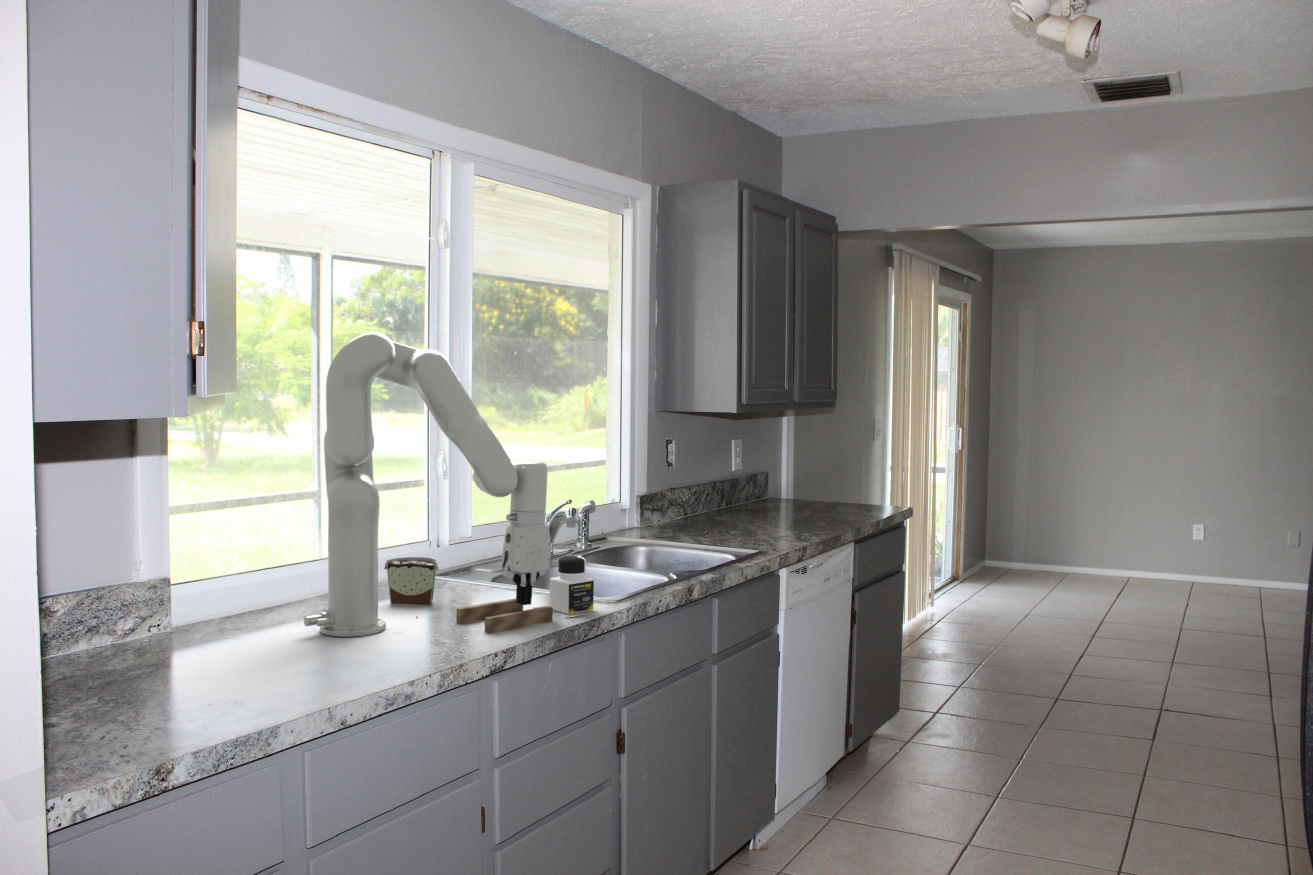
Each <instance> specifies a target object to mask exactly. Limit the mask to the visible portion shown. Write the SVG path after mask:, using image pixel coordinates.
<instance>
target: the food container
mask: <svg viewBox="0 0 1313 875" xmlns="http://www.w3.org/2000/svg"><path fill="white" fill-rule="evenodd" d="M384 564H385V565H384V567H383V568H384V570H386V571H387V582H388V591H389V592H388V594H389V602H390V605H391V606H409V607H411V606H413V607H432V606H433V602H434V601H433V600H434V590H435V580H436V574H437V573H436V572H439V570H440V569H439V563H438V562H437V560H436V559H435V558H431V557H424V556H423V557H421V556H420V557H419V556H408V557H407V556H405V557H397V558H390V559H387V560H386V563H384Z"/></svg>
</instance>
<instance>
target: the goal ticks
mask: <svg viewBox="0 0 1313 875" xmlns="http://www.w3.org/2000/svg"><path fill="white" fill-rule="evenodd" d="M546 606H550V604H545V605H541V606H535V607H533V609H535V608H540V607H546ZM586 614H589V615H590V613H589V612H583V613H578V614H576V615H577V616H578V617H581V616H580V615H584V616H587V615H586ZM565 619H571V618H570V617H569V616H565Z"/></svg>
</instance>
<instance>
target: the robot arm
mask: <svg viewBox="0 0 1313 875" xmlns="http://www.w3.org/2000/svg"><path fill="white" fill-rule="evenodd" d="M330 363H331V364H330V366H329V368H328V371H327V376H326V382H325V383H326V384H325V401H326V402H325V410H326V413H325V415H326V431H325V433H324V438H323V450H324V451H323V452H324V454H323V455H324V470H325V483H326V496H327V505H328V506H327V509H328V511H327V512H328V516H327V517H328V520H327V521H328V522H327V523H328V526H327V527H328V529H327V534H328V536H327V537H328V538H327V539H328V540H327V549H328V550H327V553H328V554H327V555H328V563H327V564H328V566H327V568H328V569H327V571H328V573H327V575H328V576H327V578H328V579H327V580H328V583H327V584H328V585H327V586H328V588H327V589H328V590H327V591H328V595H327V596H328V600H327V601H328V602H327V603H328V604H327V605H328V607H324V608H323V609H322V611H323V612H320V613H319V614H315V615H313V614H312V615H307V616H304V617H303V624H304V627H312V626H316V627H319V632H320V633H321V634H323V635H326V636H331V637H340V638H342V637H343V638H345V637H346V638H347V637H348V638H349V637H350V638H351V637H362V636H363V637H364V636H369V635H373V634H377V633H380V632H382V631H384V630H385V629H386V627H387V623H386V621H385V620H384V619H382V618H379V596H378V595H379V517H380V493H379V490H378V488H377V485H376V484H375V482H374V480H375V479H374V466H373V451H374V448H375V437H374V432H373V426H372V425H373V424H372V410H371V408H372V401H371V400H372V394H371V393H372V391H371V390H372V385H373V382H374V381H375V378H376V379H378V380H379V379H380V380H383V381H387V382H390V383H393V384H397V385H399V386H404V387H406V388H407V387H408V388H410V389H415V390H416V391H417V393H418V394H419V396H420V398H421V399H422V400H423V402H424V404H425V405H426V407H427V409H428V410H429V412H430V414H431V416H432V417H433V418H434V420H435V423H437V425H438V427H439V428H440V430H441V431H442V432H443V434H444V436H446V438H447V439H448V440H449V441H450V442H452V443H453V444H454V445H455V446H456V447H457V448H458V450H459V451H460V452H461V454H462V455H463V456H464V457H465V459H466V460H467V462H468V464H469V466H471V468H472V470H473V476H472V477H473V481H474V484H475V485H476V487H478V489H479V490H480V491H482V492H484V493H486V494H487V495H490V496H492V497H495V498H505V497H508V496H510V510H509V513H507V514H506V516H505V519H506V521H508V522H509V524H507V526H506V529H505V533H504V539H503V545H502V553H501V554H502V556H501V565H502V566H501V567H502V569H503V572H502V577H503V578H505V579H508V580H511V581H512V582H513V583H514V585H516V590H515V591H516V593H515V598H516V602H517V603H519V604H522V605H523V606H526V605H528V606H529V605H531V604H532V598H533V587H534V586H535V585H536V581H538V580H537V579H538V578H540V577H542V576H544V575H546V574H547V572H548V570H549V569H550V567H551V565H552V564H551V563H552V562H551V561H552V551H551V550H552V549H551V547H552V546H551V534H550V530H549V529H550V528H549V525H548V524H546V514H547V513H546V512H547V511H546V510H547V492H548V491H547V489H548V487H547V486H548V472H549V471H548V466H547V463H545V462H544V461H543V462H542V461H537V460H517V461H514V460H511V459H510V457H509V455H508V454H507V452H506V450H505V449H504V447H503V445H502V444H501V442H500V441H499V439H498V437H497V436H496V435H495V433H494V431H493V430H492V429H491V428H490V426H489V424H488V423H487V422H486V420H485V418H484V417H483V415H482V414H481V413H480V411H479V409H478V408H477V406H476V405H475V403H474V401H473V400H472V398H471V397H470V394H469V393H468V391H467V390H466V389H465V386H464V385H463V384H462V382H461V380H460V378H459V376H458V375H457V373H456V371H455V370H454V369H453V366H452V365H451V364H450V361H449V360H448V359H447V357H446V356H445V355H444V354H443V353H442V352H440V351H437V350H434V349H420V348H416V347H413V346H409V345H406V344H402V343H399V342H396V341H394V340H391V338H389V337H388V336H387V335H386V334H384V333H381V332H379V331H378V332H377V331H368V332H365V333H362V334H360V335H359V336H356V337H355V338H353V339H352V340H350V341H349V342H347V343H346V344H344V346H342V348H340V349H339V351H338V352H337V353H336V355H335V356H334V358H333V359H332V362H330Z"/></svg>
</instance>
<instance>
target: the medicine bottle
mask: <svg viewBox="0 0 1313 875" xmlns="http://www.w3.org/2000/svg"><path fill="white" fill-rule="evenodd" d="M586 562H587V561H586V558H584V557H583V556H581V555H563V556H562V557H559V559H558V565H557V566H558V567H557V568H558V569H557V570H558V576H556V577H550V578H549V605H550V607H553V611H554V610H555V611H554V612H558V611H559V612H558V613H561V612H562V614H564V613H566V614H565V615H568V614H571V615H575V614H574V613H576V614H580V613H579V612H581V613H586V612H590V610H592V611H593V610H594V594H595V593H594V592H595V591H594V590H595V588H594V587H595V585H594V584H595V582H594V581H595V580H594V579H593V578H591V577H586V569H587V568H586V564H587V563H586ZM585 611H586V612H585Z"/></svg>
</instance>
